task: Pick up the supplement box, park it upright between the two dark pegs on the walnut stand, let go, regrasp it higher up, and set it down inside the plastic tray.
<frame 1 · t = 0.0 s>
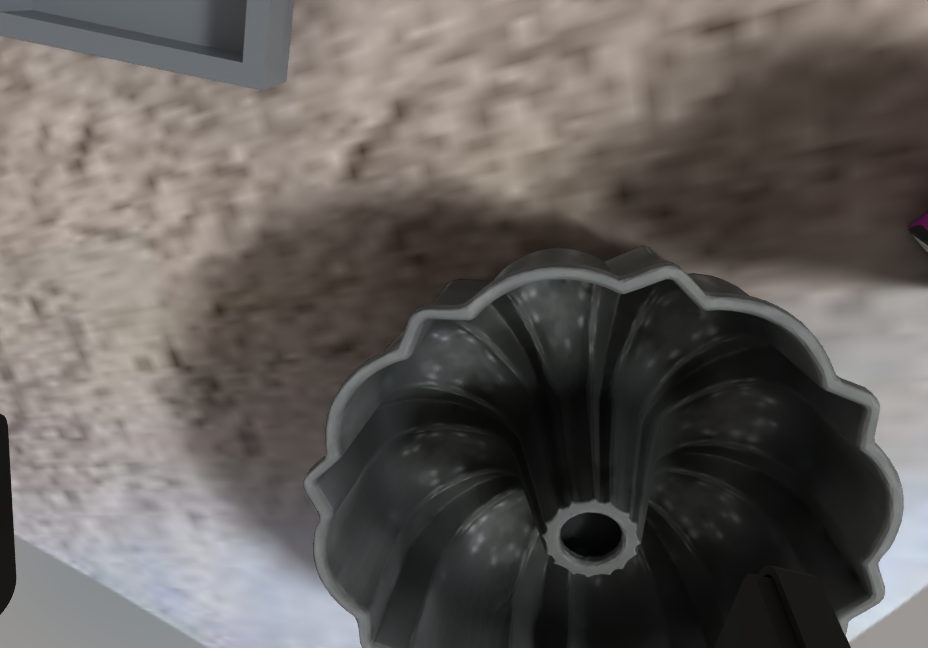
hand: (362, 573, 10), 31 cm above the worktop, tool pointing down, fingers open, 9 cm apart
bundt pan: (581, 426, 45), on the worktop
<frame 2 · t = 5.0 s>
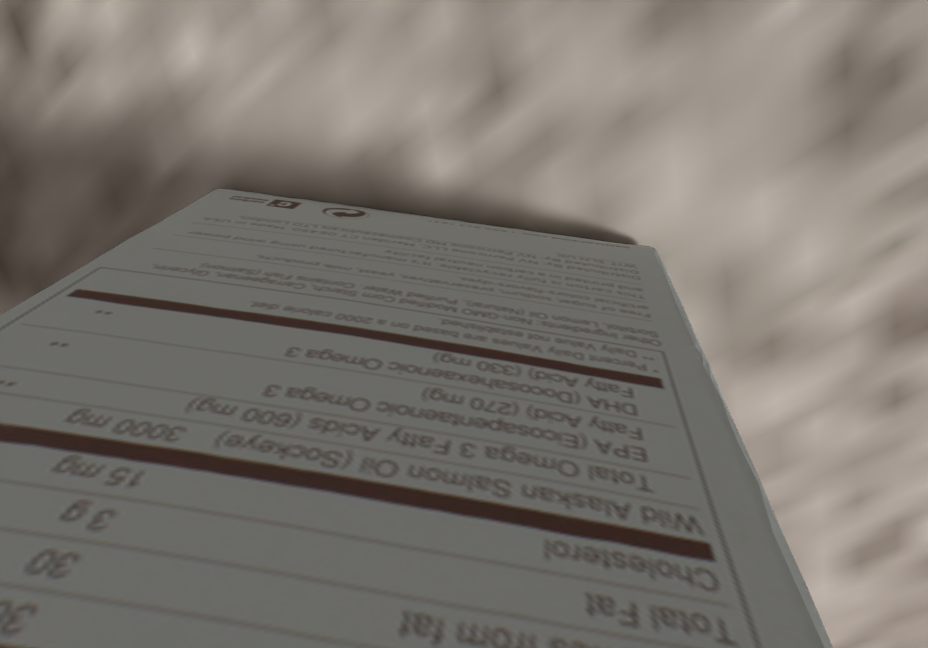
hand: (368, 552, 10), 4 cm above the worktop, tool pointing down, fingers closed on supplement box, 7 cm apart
supplement box: (417, 398, 14), on the worktop, touching gripper
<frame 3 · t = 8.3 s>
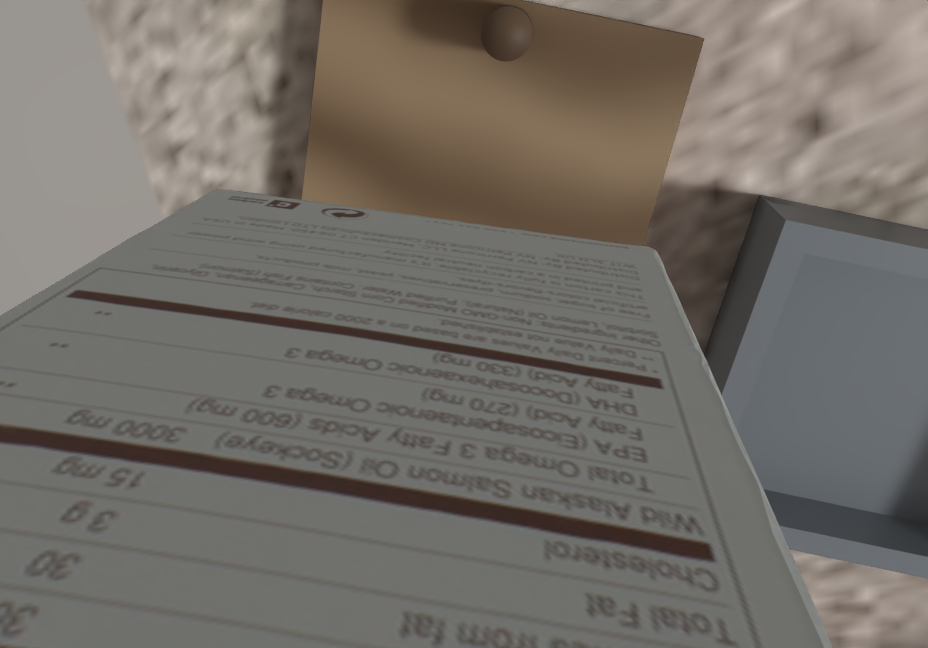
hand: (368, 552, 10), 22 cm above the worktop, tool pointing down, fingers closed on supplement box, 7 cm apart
tray: (861, 379, 33), on the worktop
supplement box: (416, 398, 14), point 18 cm above the worktop, touching gripper
peg stand: (481, 176, 31), on the worktop
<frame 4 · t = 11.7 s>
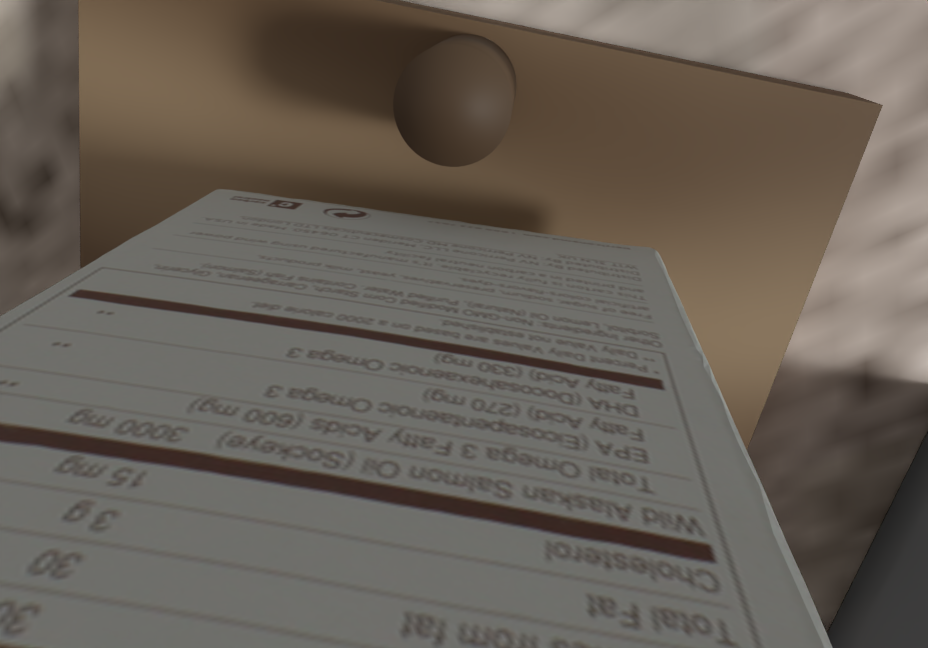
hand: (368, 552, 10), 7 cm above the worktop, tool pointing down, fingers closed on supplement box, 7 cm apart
supplement box: (417, 398, 14), point 2 cm above the worktop, touching gripper
peg stand: (423, 346, 17), on the worktop
when the fingers open (7 cm above the worktop, at t = 11.7 s): supplement box drops 1 cm, resting on peg stand.
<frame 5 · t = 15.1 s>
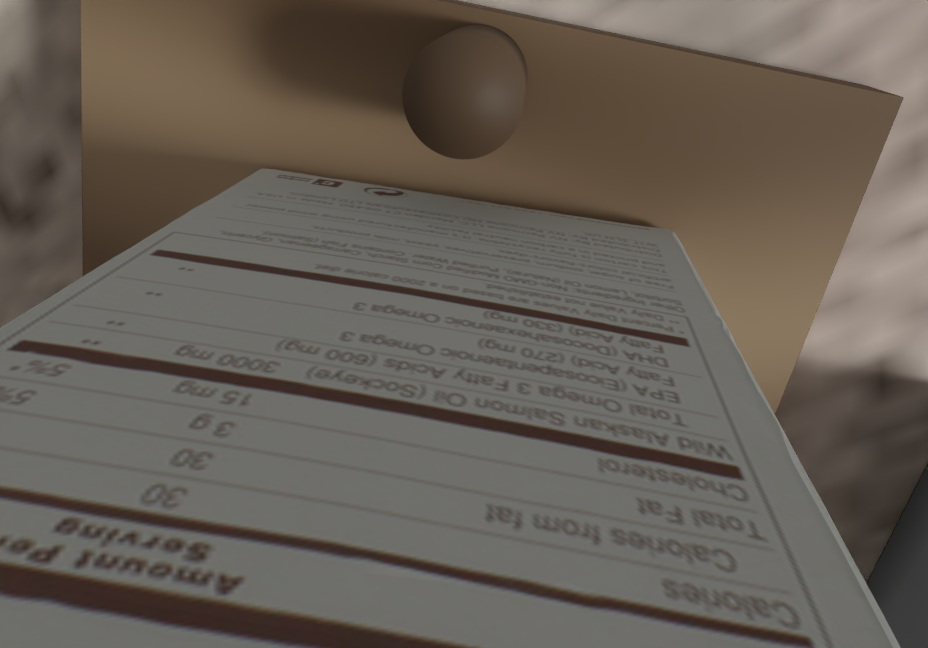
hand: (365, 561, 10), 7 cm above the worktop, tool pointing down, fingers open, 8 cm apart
supplement box: (443, 370, 15), point 1 cm above the worktop, touching gripper, peg stand
peg stand: (431, 343, 16), on the worktop
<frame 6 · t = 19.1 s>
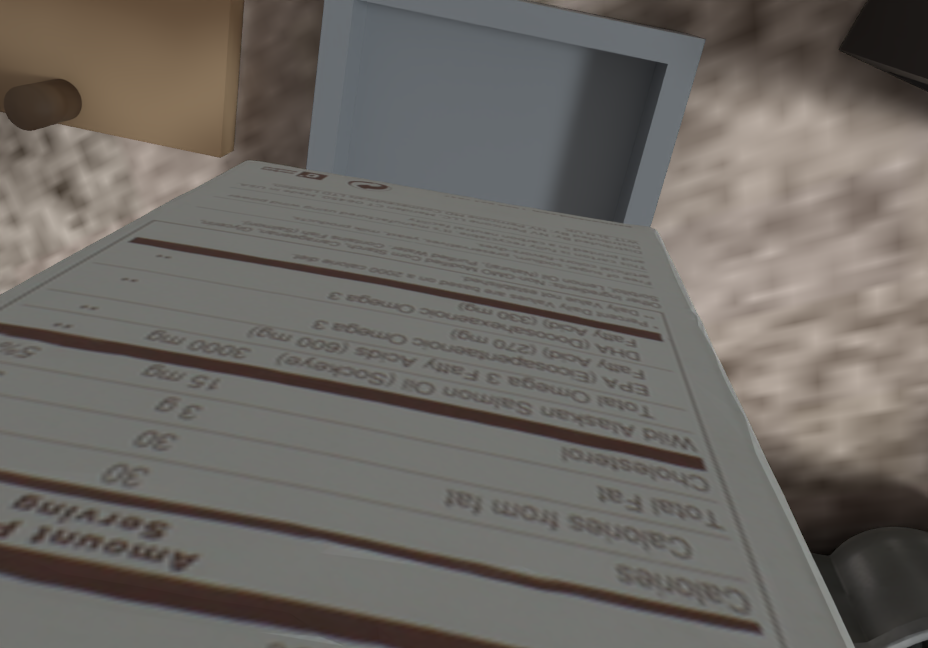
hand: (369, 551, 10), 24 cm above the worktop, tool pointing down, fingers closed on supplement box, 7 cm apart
tray: (485, 166, 33), on the worktop
supplement box: (426, 365, 15), point 19 cm above the worktop, touching gripper
when the fingers open (7 cm above the worktop, at t = 22.7 s): supplement box drops 1 cm, resting on tray.
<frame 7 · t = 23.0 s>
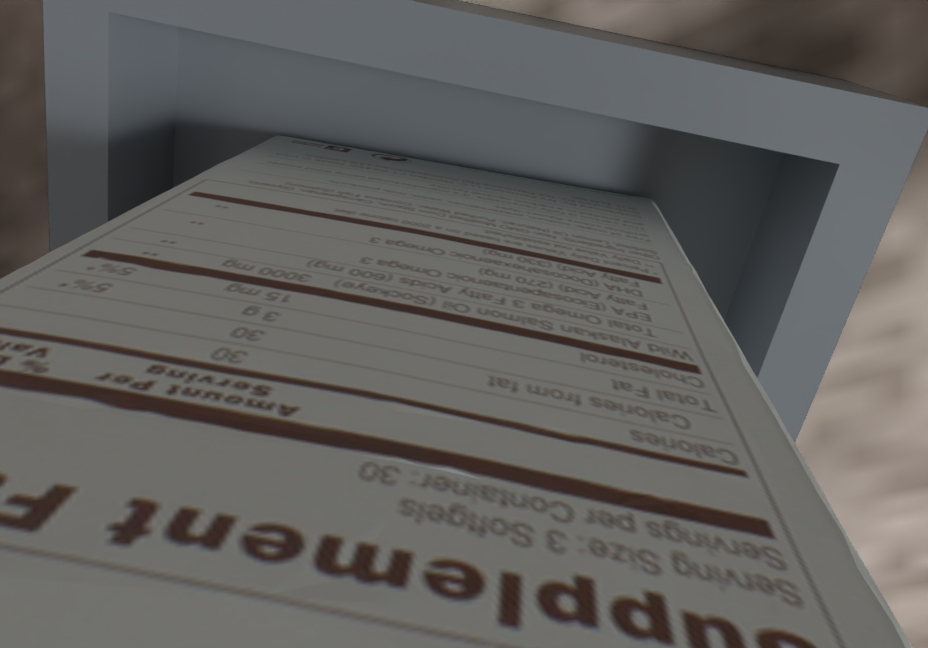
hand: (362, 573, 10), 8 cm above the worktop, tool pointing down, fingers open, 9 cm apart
tray: (437, 327, 17), on the worktop
supplement box: (439, 329, 16), point 1 cm above the worktop, touching tray
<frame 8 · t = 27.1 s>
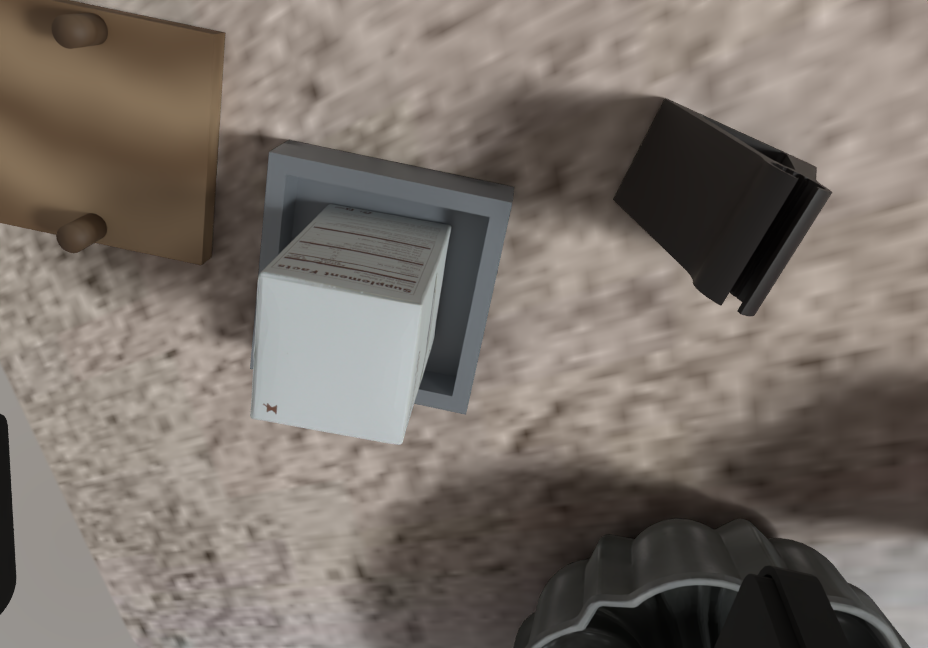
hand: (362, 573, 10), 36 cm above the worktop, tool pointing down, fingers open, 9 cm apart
tray: (384, 270, 47), on the worktop
supplement box: (384, 269, 46), point 1 cm above the worktop, touching tray
peg stand: (107, 128, 45), on the worktop
phone stand: (710, 181, 44), on the worktop
bundt pan: (685, 627, 56), on the worktop
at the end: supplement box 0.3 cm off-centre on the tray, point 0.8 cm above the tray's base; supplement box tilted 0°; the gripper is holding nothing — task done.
